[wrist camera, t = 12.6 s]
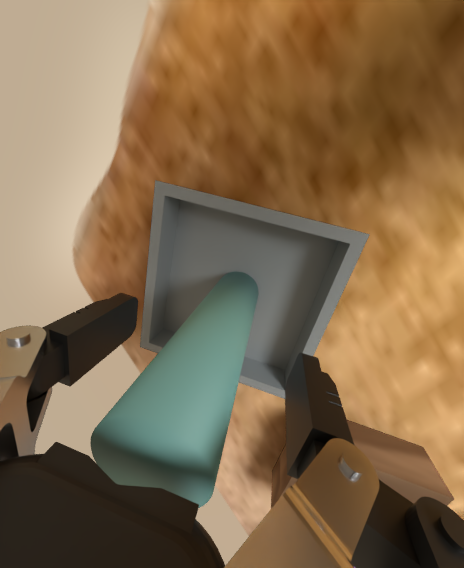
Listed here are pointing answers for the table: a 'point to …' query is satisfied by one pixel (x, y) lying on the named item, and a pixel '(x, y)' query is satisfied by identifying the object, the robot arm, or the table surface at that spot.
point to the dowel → (182, 400)
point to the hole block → (383, 466)
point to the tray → (253, 261)
